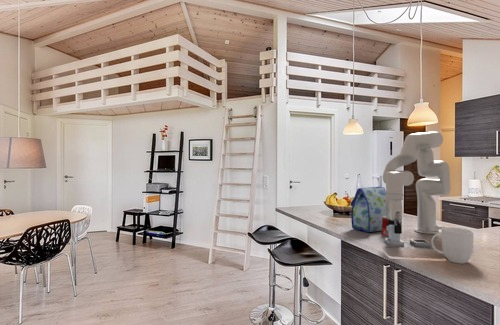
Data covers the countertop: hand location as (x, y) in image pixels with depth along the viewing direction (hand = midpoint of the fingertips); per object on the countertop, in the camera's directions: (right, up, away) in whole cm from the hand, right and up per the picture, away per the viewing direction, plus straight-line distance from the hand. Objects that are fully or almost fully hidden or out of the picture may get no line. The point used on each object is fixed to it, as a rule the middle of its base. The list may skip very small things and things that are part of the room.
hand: (394, 231), depth 148 cm
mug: (+14, -8, -22) cm, 27 cm away
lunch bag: (+3, -8, +36) cm, 37 cm away
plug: (0, -6, 0) cm, 6 cm away
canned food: (+6, -8, +19) cm, 21 cm away
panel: (+5, -7, -1) cm, 9 cm away
